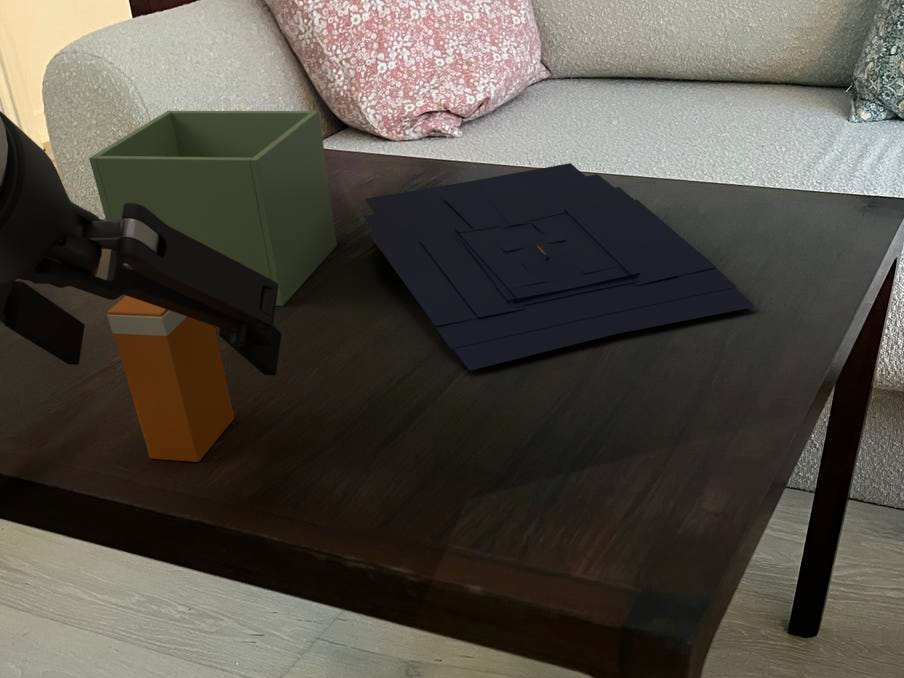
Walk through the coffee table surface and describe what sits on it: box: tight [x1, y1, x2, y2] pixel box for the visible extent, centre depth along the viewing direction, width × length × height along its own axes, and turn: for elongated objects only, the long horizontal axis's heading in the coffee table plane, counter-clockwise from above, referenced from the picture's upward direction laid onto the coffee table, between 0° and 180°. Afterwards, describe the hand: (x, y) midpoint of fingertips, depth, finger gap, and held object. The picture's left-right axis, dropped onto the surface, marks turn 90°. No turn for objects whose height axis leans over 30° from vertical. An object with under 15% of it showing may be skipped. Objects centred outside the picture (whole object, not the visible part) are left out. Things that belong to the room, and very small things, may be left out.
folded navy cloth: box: [362, 162, 756, 371], centre depth 88 cm, size 24×30×4 cm
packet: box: [107, 295, 235, 463], centre depth 67 cm, size 4×6×10 cm, turn 167°
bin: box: [88, 110, 338, 307], centre depth 90 cm, size 14×14×12 cm
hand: (173, 349), depth 66 cm, fingers open, 13 cm apart
